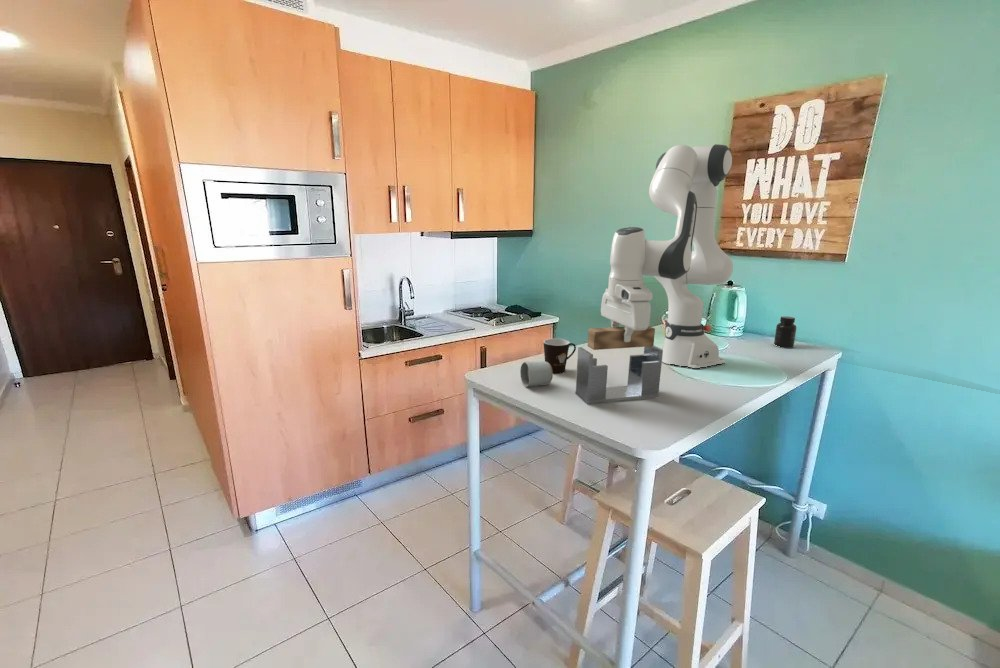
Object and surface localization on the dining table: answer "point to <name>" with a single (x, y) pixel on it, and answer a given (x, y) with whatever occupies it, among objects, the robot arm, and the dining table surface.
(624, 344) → the rail
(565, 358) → the coffee mug
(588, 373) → the bracket pair
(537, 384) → the ceramic mug
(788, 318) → the supplement bottle
